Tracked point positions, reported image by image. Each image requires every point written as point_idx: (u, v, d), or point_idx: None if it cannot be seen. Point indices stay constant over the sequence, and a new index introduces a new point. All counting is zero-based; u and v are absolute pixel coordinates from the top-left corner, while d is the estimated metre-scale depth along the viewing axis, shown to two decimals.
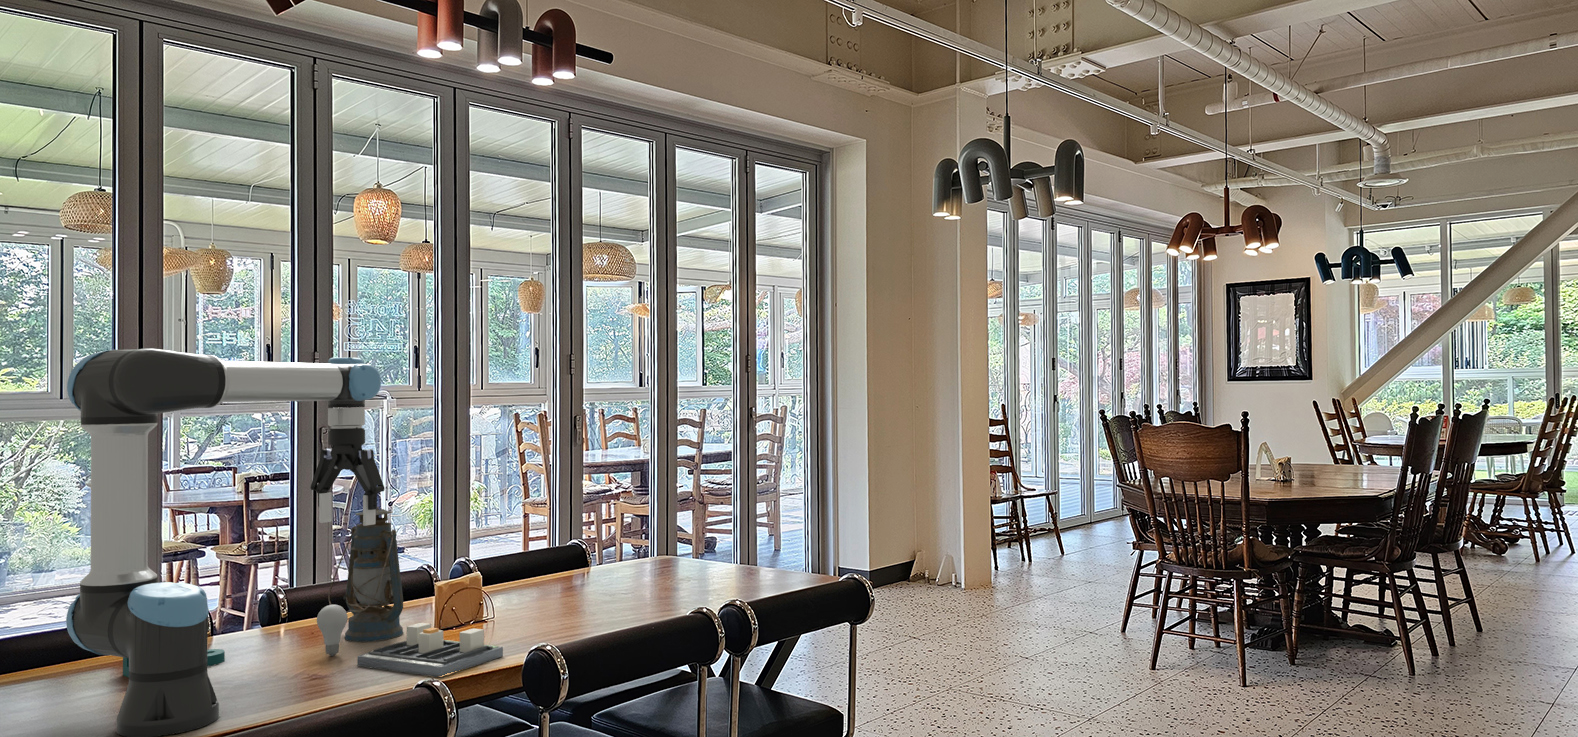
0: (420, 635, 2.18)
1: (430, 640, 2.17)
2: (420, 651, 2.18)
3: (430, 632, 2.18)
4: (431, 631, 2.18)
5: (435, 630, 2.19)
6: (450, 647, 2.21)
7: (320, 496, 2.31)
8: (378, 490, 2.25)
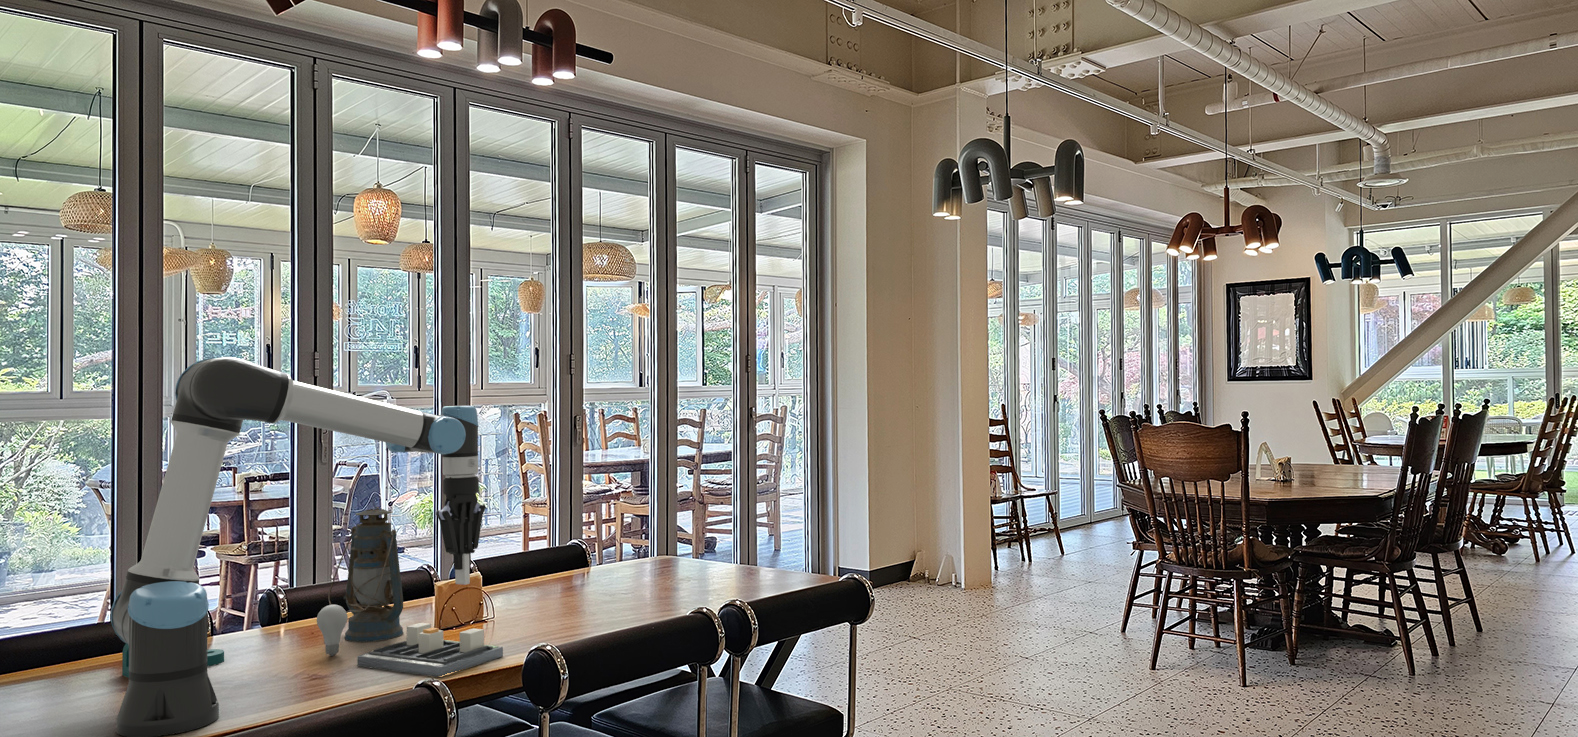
0: (420, 635, 2.18)
1: (430, 640, 2.17)
2: (420, 651, 2.18)
3: (430, 632, 2.18)
4: (431, 631, 2.18)
5: (435, 630, 2.19)
6: (450, 647, 2.21)
7: None
8: (449, 552, 2.25)
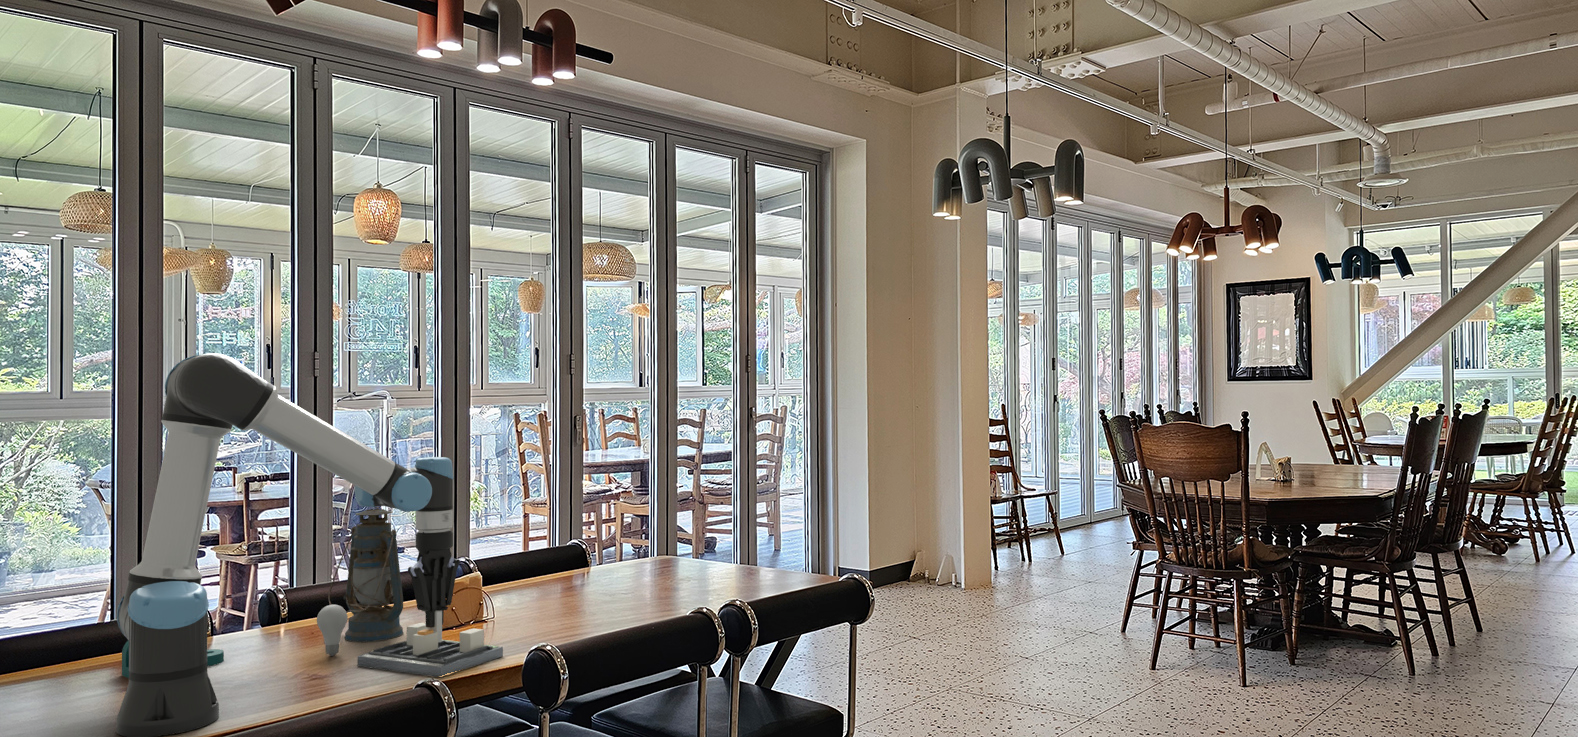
0: (414, 637, 2.16)
1: (425, 642, 2.16)
2: (414, 653, 2.16)
3: (424, 634, 2.16)
4: (425, 633, 2.17)
5: (429, 632, 2.18)
6: (450, 647, 2.21)
7: None
8: (421, 609, 2.18)
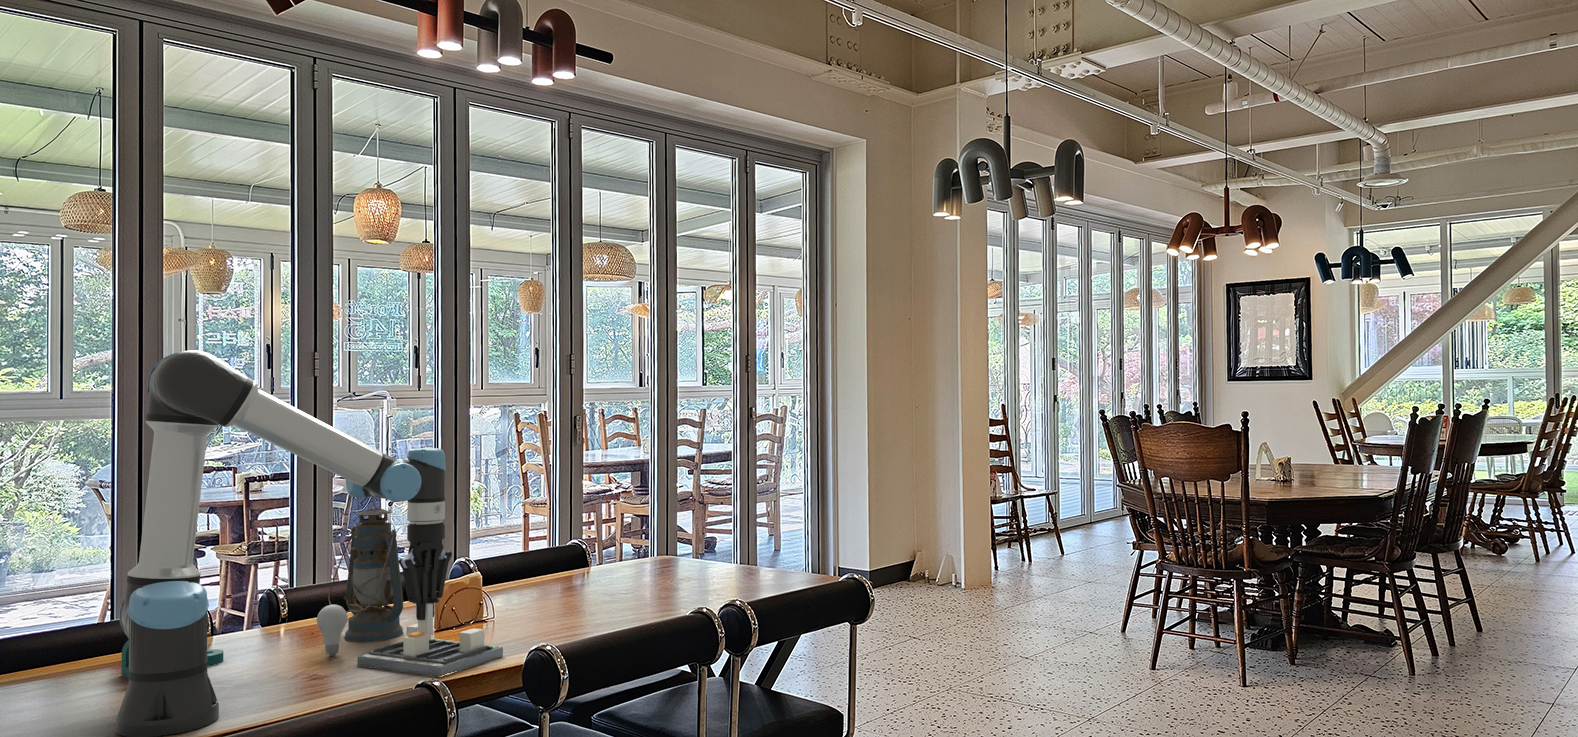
0: (405, 639, 2.14)
1: (415, 644, 2.13)
2: None
3: (415, 636, 2.14)
4: (416, 635, 2.14)
5: (420, 634, 2.15)
6: (450, 647, 2.21)
7: None
8: (412, 602, 2.15)
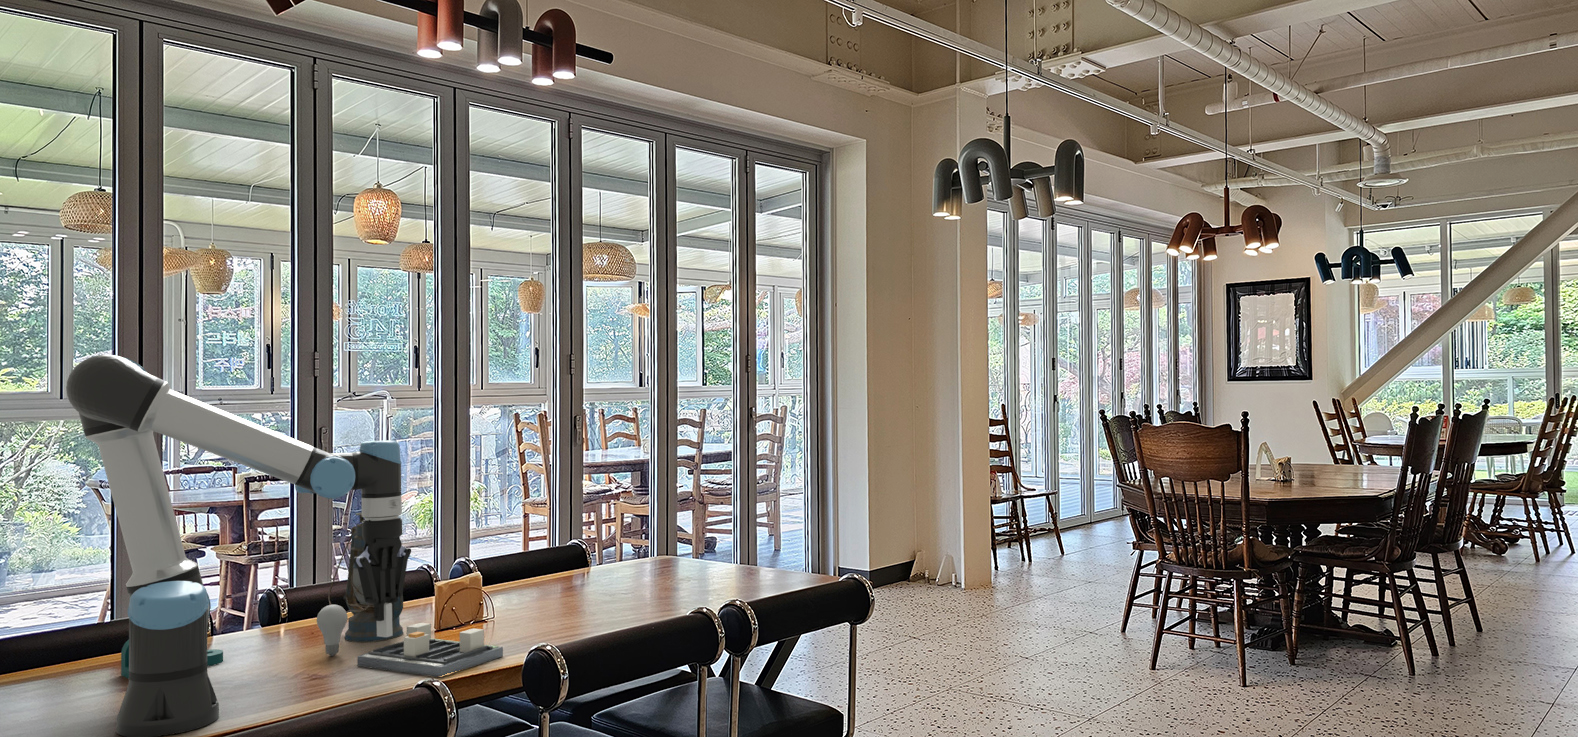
0: (405, 639, 2.14)
1: (416, 644, 2.13)
2: (405, 655, 2.14)
3: (415, 636, 2.14)
4: (416, 635, 2.14)
5: (421, 634, 2.15)
6: (450, 647, 2.21)
7: None
8: (369, 602, 2.05)
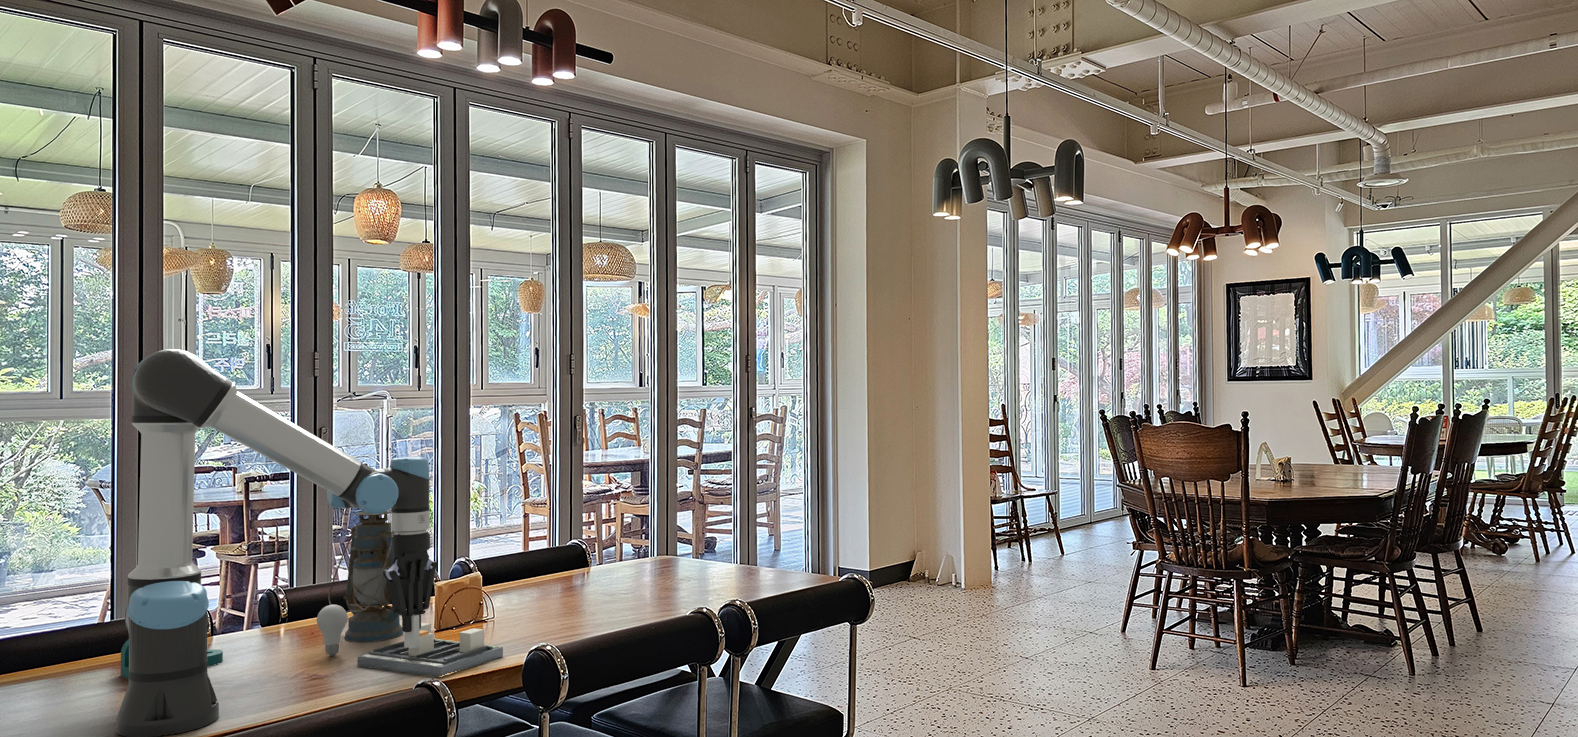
0: None
1: (421, 643, 2.15)
2: (410, 654, 2.15)
3: (420, 635, 2.15)
4: (421, 634, 2.16)
5: (425, 633, 2.17)
6: (450, 647, 2.21)
7: None
8: None
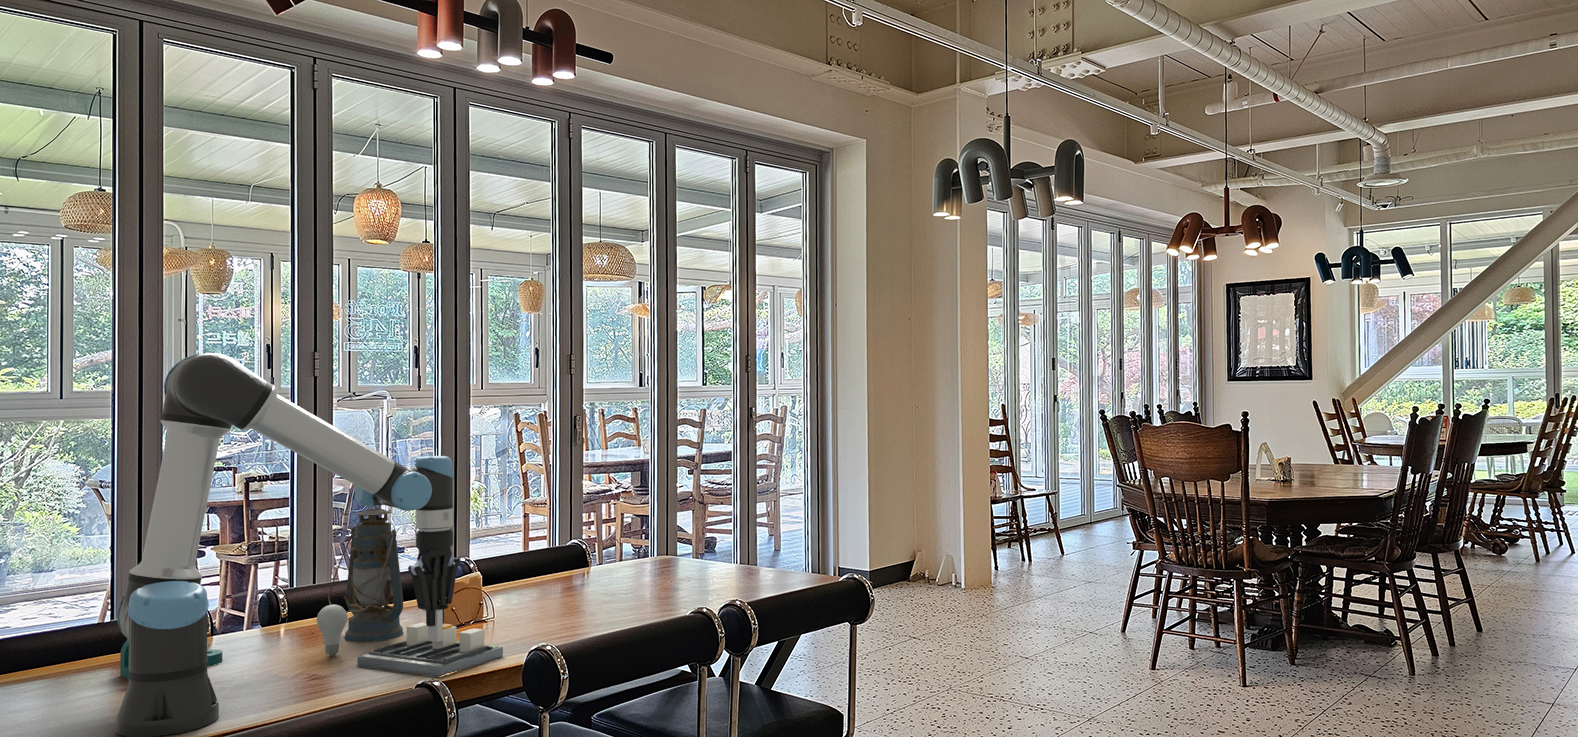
0: None
1: (444, 636, 2.21)
2: (434, 647, 2.21)
3: (444, 628, 2.21)
4: (445, 627, 2.22)
5: (448, 626, 2.23)
6: (450, 647, 2.21)
7: None
8: (421, 608, 2.18)
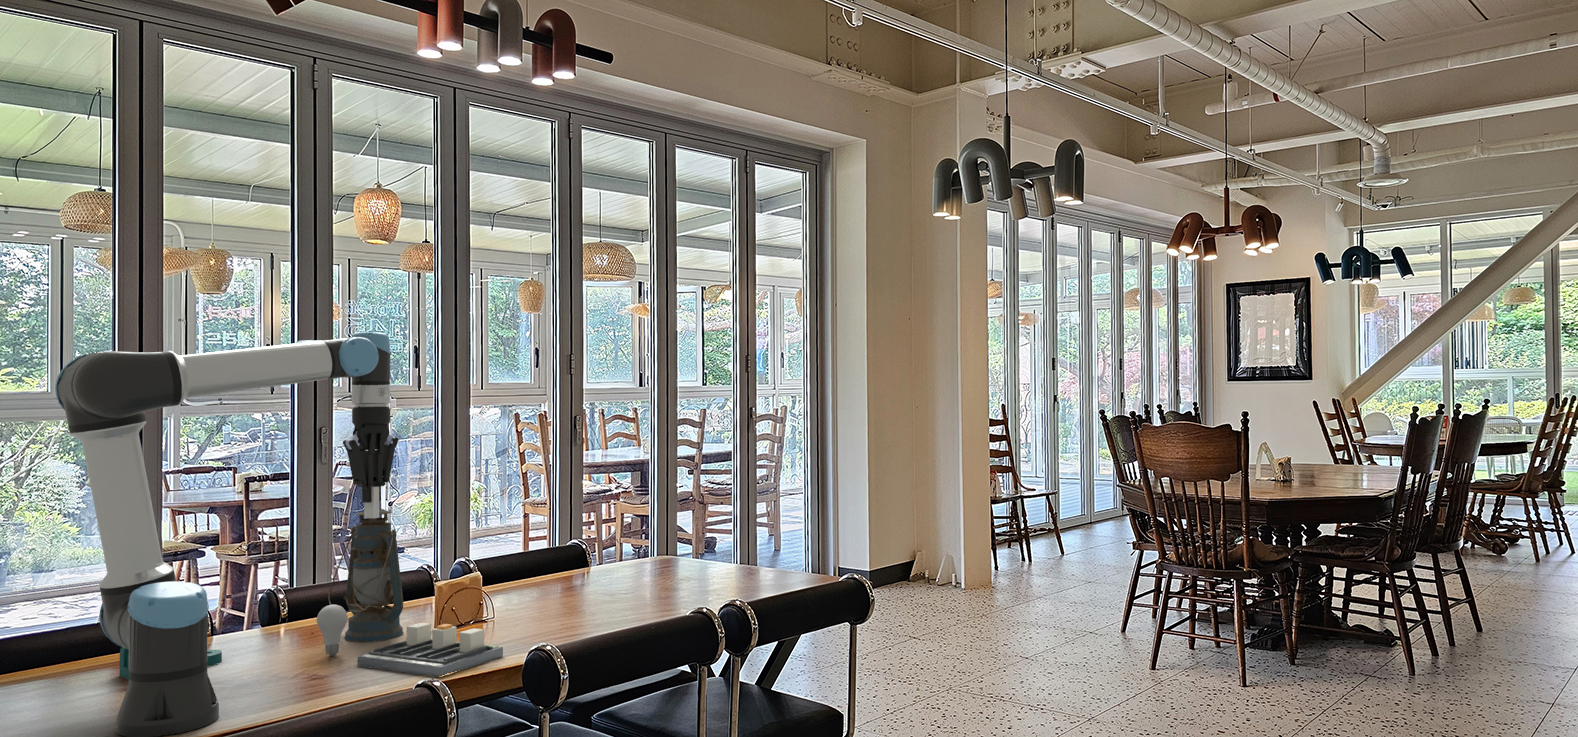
0: (434, 631, 2.21)
1: (444, 636, 2.21)
2: (434, 647, 2.21)
3: (444, 628, 2.21)
4: (445, 627, 2.22)
5: (449, 626, 2.23)
6: (450, 647, 2.21)
7: None
8: (357, 484, 2.16)
